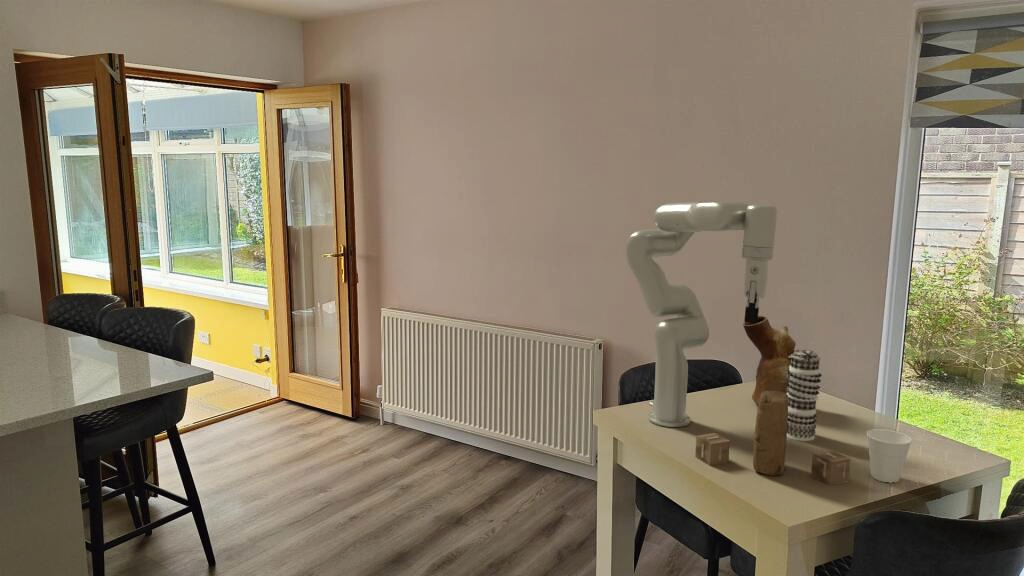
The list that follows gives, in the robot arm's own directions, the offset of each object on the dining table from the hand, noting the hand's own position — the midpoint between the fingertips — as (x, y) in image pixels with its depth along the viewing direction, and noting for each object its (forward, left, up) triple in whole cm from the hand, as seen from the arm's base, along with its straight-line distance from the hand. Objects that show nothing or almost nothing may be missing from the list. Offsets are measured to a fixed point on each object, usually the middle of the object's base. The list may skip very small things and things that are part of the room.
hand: (750, 321), depth 180 cm
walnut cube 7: (+21, +9, -36) cm, 43 cm away
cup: (+26, +22, -36) cm, 50 cm away
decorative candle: (-4, +24, -36) cm, 44 cm away
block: (+11, -1, -36) cm, 38 cm away
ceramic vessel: (-27, +35, -36) cm, 58 cm away
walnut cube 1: (+1, -11, -36) cm, 38 cm away
